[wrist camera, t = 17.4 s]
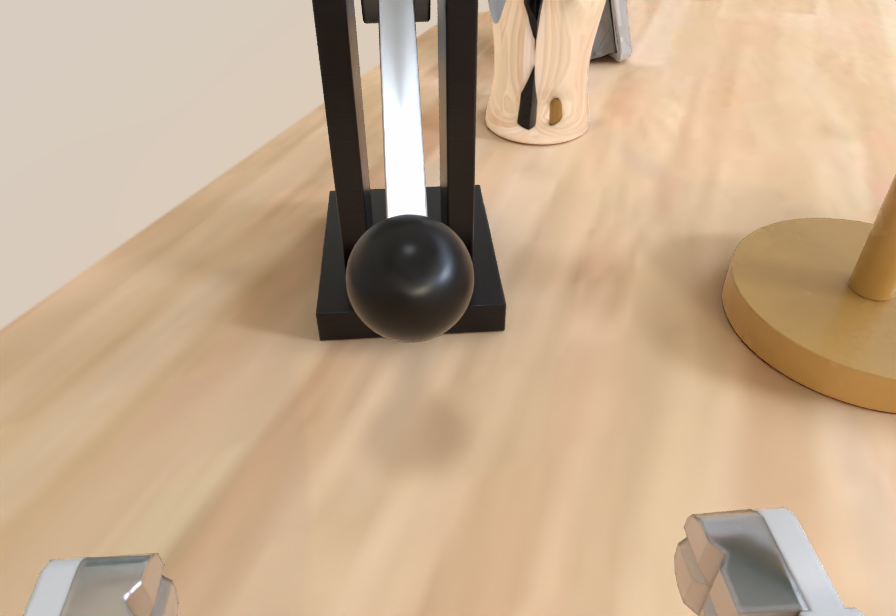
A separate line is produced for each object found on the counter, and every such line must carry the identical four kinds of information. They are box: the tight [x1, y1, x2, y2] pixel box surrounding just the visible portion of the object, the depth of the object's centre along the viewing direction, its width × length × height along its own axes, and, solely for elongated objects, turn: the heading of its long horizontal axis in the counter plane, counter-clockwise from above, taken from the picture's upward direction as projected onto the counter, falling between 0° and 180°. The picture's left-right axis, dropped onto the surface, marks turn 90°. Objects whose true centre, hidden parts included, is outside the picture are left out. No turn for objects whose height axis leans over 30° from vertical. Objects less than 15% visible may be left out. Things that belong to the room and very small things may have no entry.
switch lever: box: [346, 0, 474, 342], centre depth 20 cm, size 14×3×3 cm, turn 5°
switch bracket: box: [312, 0, 506, 340], centre depth 26 cm, size 9×7×14 cm
